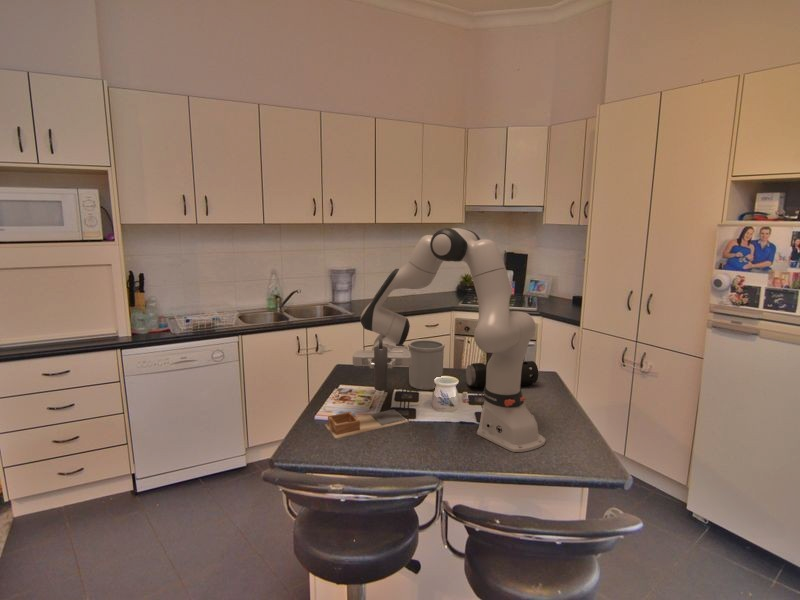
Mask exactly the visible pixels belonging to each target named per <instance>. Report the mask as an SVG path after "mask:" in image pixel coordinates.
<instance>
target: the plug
mask: <svg viewBox="0 0 800 600" xmlns="http://www.w3.org/2000/svg"><path fill="white" fill-rule="evenodd" d="M387 363H388V349H387V347H385V346H383V339H379V346H377V347H375V348H374V368H373V369H374V370H373V371H374V373H373V374H374V376H373V377H374V390H375V391H378V392H382V391H386V390H388V388H389V387H388V382H389V381H388V379H389V378H388V374H389V371H388V369H387Z"/></svg>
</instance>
